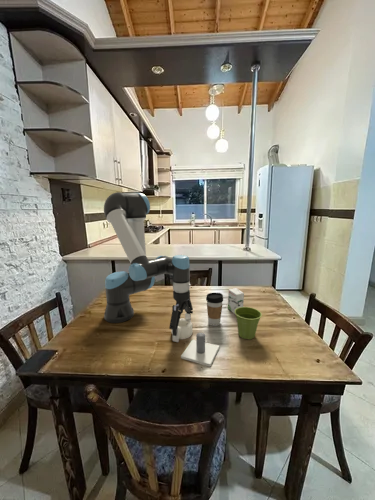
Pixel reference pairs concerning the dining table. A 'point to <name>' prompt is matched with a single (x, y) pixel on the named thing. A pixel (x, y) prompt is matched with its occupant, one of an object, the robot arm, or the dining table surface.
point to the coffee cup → (214, 308)
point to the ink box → (235, 299)
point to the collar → (184, 328)
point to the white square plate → (200, 351)
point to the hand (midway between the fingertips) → (182, 333)
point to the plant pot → (247, 321)
